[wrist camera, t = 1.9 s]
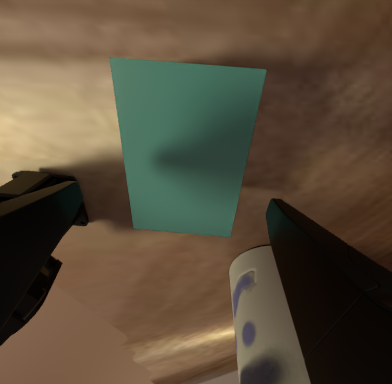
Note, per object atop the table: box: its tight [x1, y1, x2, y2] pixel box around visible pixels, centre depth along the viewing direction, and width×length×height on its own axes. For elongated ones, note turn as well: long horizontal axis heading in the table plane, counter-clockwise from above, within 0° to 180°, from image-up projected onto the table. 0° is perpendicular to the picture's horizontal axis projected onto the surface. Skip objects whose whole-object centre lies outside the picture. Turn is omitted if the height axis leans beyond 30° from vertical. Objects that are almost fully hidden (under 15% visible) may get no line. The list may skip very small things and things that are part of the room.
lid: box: [109, 57, 267, 237], centre depth 13 cm, size 11×7×2 cm
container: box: [229, 246, 311, 384], centre depth 19 cm, size 10×10×20 cm
